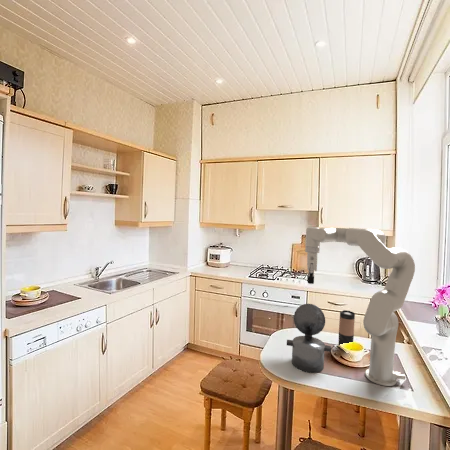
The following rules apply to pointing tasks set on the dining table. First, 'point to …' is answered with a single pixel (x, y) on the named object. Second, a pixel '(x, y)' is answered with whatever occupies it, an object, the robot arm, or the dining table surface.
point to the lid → (309, 319)
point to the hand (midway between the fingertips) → (310, 282)
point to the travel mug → (346, 326)
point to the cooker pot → (308, 353)
